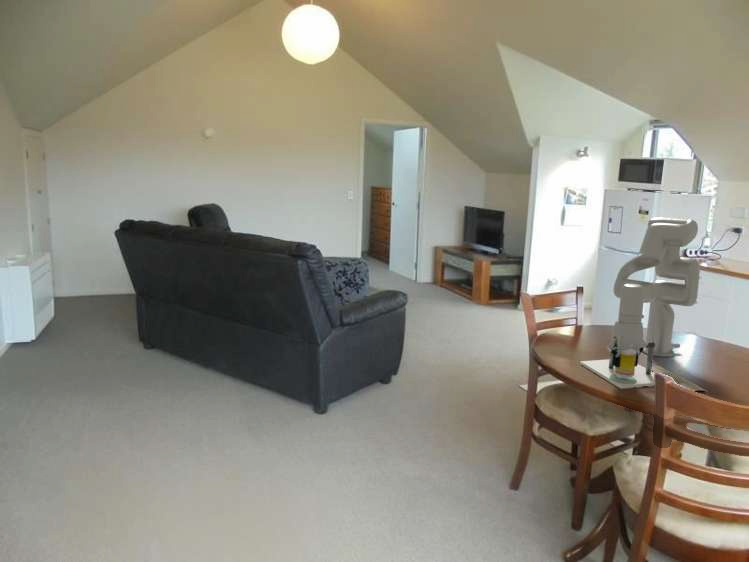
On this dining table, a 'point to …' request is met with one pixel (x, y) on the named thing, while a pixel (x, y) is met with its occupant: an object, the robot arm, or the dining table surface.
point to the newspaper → (676, 378)
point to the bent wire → (649, 358)
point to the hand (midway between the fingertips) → (624, 365)
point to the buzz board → (622, 382)
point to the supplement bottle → (626, 363)
